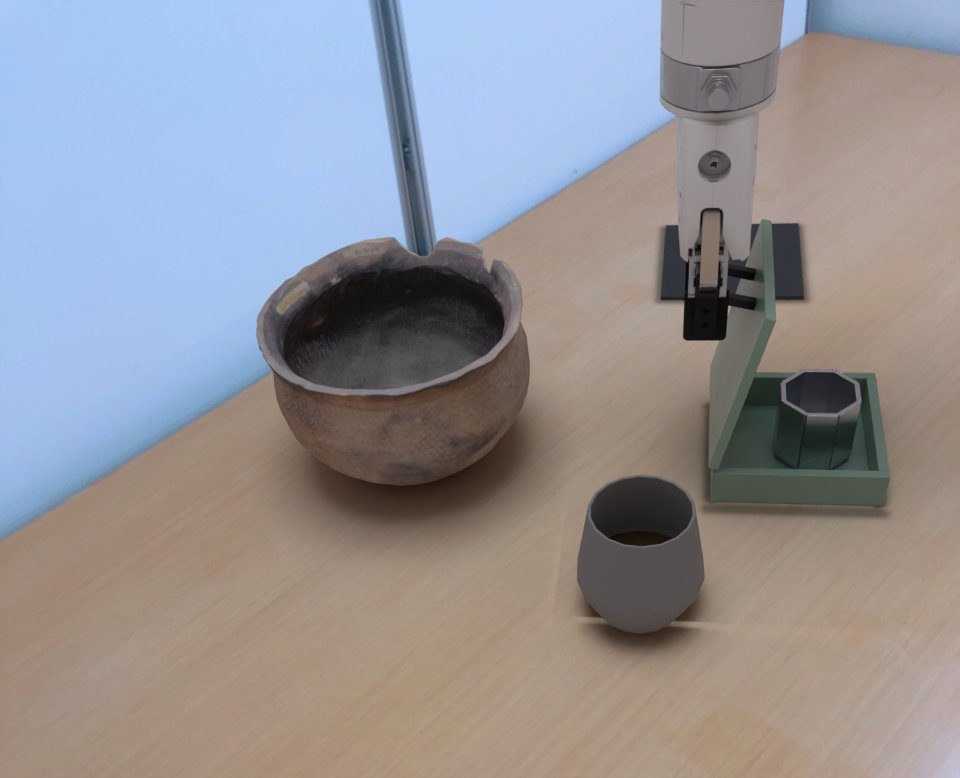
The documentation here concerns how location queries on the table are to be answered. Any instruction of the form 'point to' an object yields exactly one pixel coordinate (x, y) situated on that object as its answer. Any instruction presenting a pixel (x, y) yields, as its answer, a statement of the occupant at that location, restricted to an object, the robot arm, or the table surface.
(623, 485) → the cup
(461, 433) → the ceramic bowl
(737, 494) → the green tray
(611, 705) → the table surface
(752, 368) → the box lid
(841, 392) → the octagonal grey canister
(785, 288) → the mat
